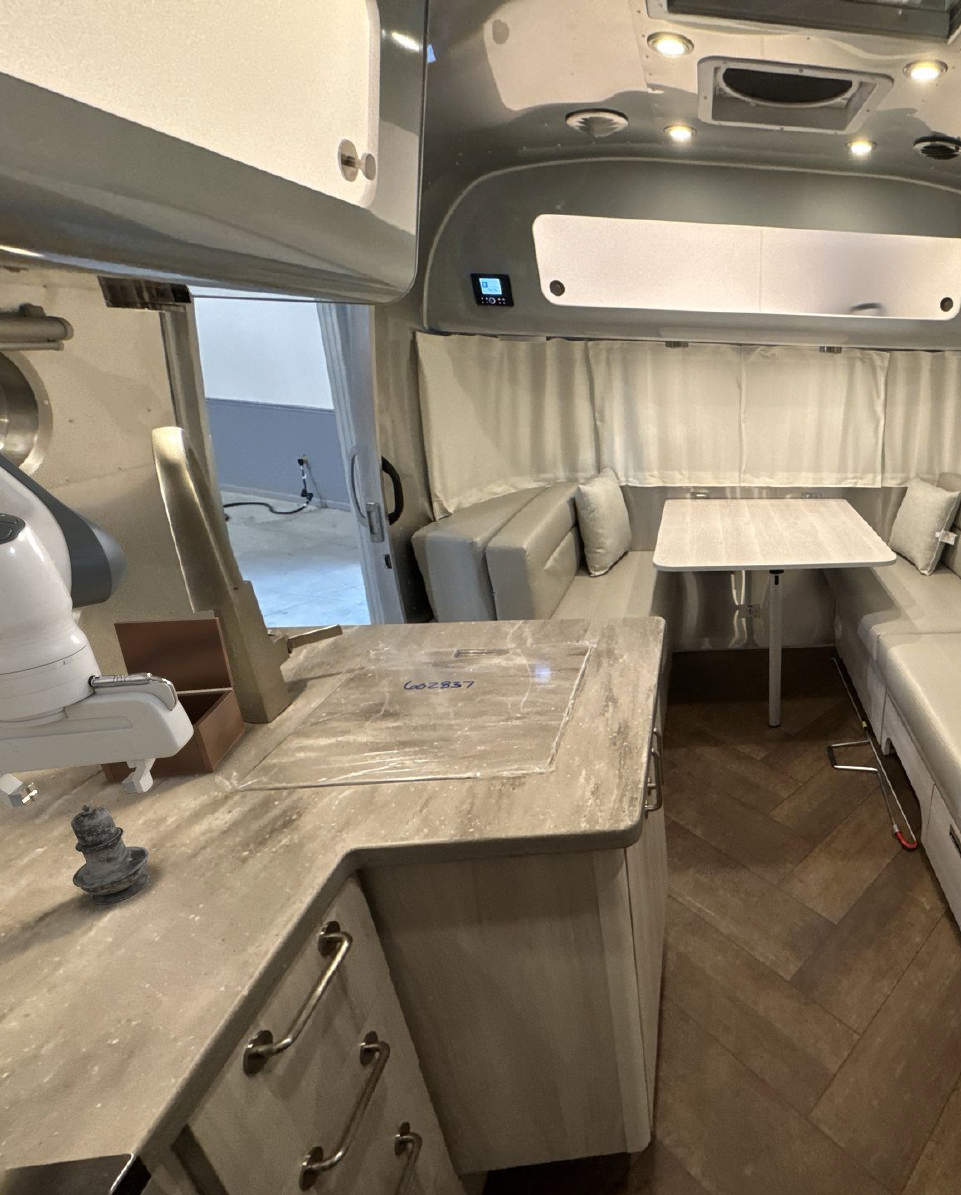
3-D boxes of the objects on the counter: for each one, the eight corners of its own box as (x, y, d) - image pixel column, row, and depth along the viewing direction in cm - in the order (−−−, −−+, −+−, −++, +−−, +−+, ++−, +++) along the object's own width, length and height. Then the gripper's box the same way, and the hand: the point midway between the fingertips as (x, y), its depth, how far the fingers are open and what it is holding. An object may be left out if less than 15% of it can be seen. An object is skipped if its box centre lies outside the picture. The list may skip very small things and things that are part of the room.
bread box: (214, 773, 90) (198, 727, 87) (108, 784, 86) (88, 736, 83) (246, 733, 98) (233, 689, 96) (152, 741, 95) (136, 696, 92)
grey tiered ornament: (69, 904, 69) (26, 817, 65) (132, 864, 75) (98, 781, 70) (110, 918, 68) (70, 830, 64) (171, 876, 73) (139, 793, 69)
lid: (215, 618, 92) (232, 608, 96) (113, 623, 88) (135, 612, 93) (231, 687, 95) (247, 675, 99) (133, 695, 91) (153, 681, 96)
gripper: (184, 657, 67) (220, 764, 72) (-81, 674, 61) (-20, 790, 66) (149, 687, 62) (190, 801, 67) (-146, 709, 55) (-75, 833, 61)
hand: (83, 796), depth 66 cm, fingers open, 8 cm apart
